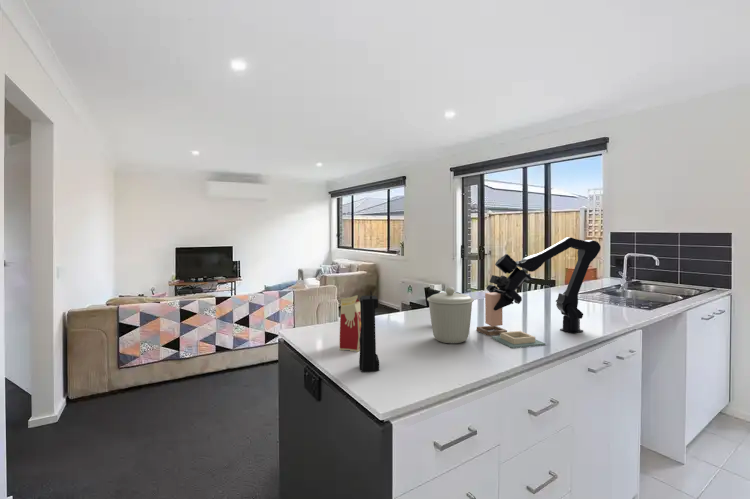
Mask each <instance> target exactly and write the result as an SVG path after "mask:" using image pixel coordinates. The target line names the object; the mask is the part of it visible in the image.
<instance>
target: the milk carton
mask: <svg viewBox="0 0 750 499" xmlns="http://www.w3.org/2000/svg"><path fill="white" fill-rule="evenodd" d="M358 297H359V296H358V295H357V294H356V295H353V296H351V297H347V298H346V297H345V298H344V297H343V298H339V300H340V315H339V316H340V317H339V318H340V320H339V351H344V350H350V351H349V352H353V351H356V352H355V353H360V342H359V338H360V333H361V331H360V330H361V314H360V299H358Z"/></svg>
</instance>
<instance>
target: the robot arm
mask: <svg viewBox="0 0 750 499" xmlns="http://www.w3.org/2000/svg"><path fill="white" fill-rule="evenodd" d="M570 248H571V249H574V250H577V261H576V264H575V267H574V269H573V272H572V274H571V277H570V279H569V282H568V284H567V286H566V289H565V291H564V292H563V293H561V292H559V293H558V296H557V299H556V300H555V302H556V308H557V309H558V311H560V313H561V315H563V317H562V328H559V330H560V331H563V332H566V333H570V334H577V333H582V332H584V329H581V321H580V320H581V319H583V317H584V313H583V312H582V311H581V310H580V309H579V308H578V306H579V292H580V290H581V288H582V285H583V282H584V280H585V277H586V275H587V272H588V269H589V267H590V264H591V262H592V261H594V260H595V259H596V258H597V257H598V255H599V253H600V251H601V248H602V247H601V245H600V242H598V241H597V240H588V239H587V240H582V239H579V238H578V239H577V238H573V237H570V236H569V237H564V238H563V239H561V240H560V241H558V242H557V243H555V244H553V245H551V246H549V247H547V248H546V249H544V250H542V251H540V252H538V253H534V254H531V255H528V256H526V257H523V258H522V259H521V260H517V261H515V260H514V259H513V258H512V257H511V256H510V255H509V253H505V254H504V255H503V256H501V257H500V258H498V260H496V262H495V266H496V268H498V269H499V270H500V271H501V272H502V273H504V274H509V276H508V277H507V276H506V275H501V276H498V275H493V274H492V275H491V277H490V280H489V283H491V284H488V285H487V287H486V288H485V289H486V290H487V291H488V293H492V292H497V293H500V294H501V297H500V299H499V301H498V302H497V304H496V305H495V307H494V310H495V311H496V310H498V309H501V308H502V309H503V308H504V307H508V306H510V305H513V304H517V305H519V304H520V303H522V301H523V300H522V299H523V297H522V296H521V295H520V294H519V293H518V292H517V291H516V290H520V289H521V287H520V286H521V285H522V283H523V282H524V280H526V281H531V280H532V275H531V273H527V272H536V271H537V270H538V269H539V268H540V267H542V266H543V265H544V264H545V263H546V262H547V261H548V260H550V259H552V258H554V257H555V256H557V255H559V254H561V253H563V252H565V251H566V250H568V249H570ZM520 268H521V269H520ZM526 271H527V272H526ZM493 284H494V285H493Z"/></svg>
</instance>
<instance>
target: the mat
mask: <svg viewBox="0 0 750 499" xmlns="http://www.w3.org/2000/svg"><path fill="white" fill-rule="evenodd" d="M490 338H491V340H495V341H496V342H498V343H501V344H503V345H504V346H506V347H509V348H510V349H521V348H529V346H531V347H539V346H540V345H541V346H546V343H545V342H543V341H540V340H538V339H536V336H534V335H532V334H530V333H526V332H525V331H521V330H518V331H517V330H516V331H515V330H514V331H507V332H503V333H500V335H491V337H490ZM520 347H521V348H520Z"/></svg>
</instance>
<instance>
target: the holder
mask: <svg viewBox="0 0 750 499" xmlns="http://www.w3.org/2000/svg"><path fill="white" fill-rule="evenodd" d="M493 329H495V330H493ZM476 331H477V332H479V333H481V334H484V336H487V337H490V336H491V337H492V336H500V333H503V332H508V330H507V329H505V328H504V327H503V328H502V327H500V326H490V325H485V326H483V325H482V326H476Z"/></svg>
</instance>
